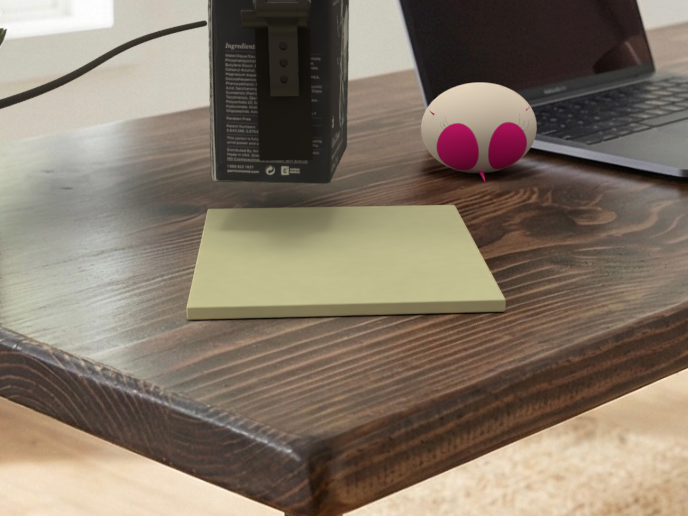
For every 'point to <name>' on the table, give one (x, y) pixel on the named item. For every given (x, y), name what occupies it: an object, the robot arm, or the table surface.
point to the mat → (339, 263)
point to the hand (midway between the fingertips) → (285, 138)
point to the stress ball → (478, 128)
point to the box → (241, 96)
